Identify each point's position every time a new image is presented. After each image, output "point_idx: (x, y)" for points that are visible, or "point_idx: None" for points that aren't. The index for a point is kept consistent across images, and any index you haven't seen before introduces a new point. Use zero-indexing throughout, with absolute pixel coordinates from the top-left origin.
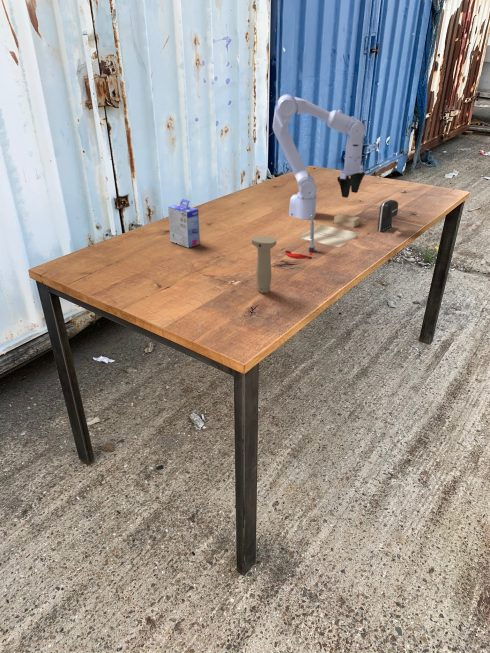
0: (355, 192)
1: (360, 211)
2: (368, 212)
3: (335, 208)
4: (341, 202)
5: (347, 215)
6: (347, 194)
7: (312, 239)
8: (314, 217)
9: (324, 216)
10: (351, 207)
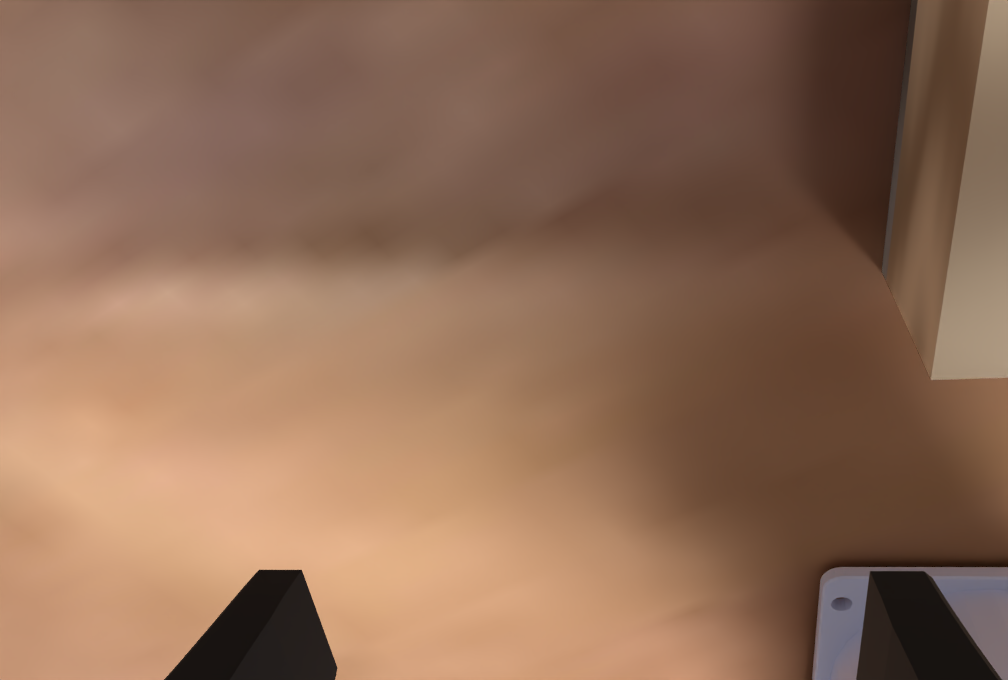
0: (306, 597)
1: (109, 305)
2: (33, 186)
3: None
4: (55, 625)
5: (995, 202)
6: (984, 655)
7: None
8: (979, 614)
9: (685, 557)
10: (88, 472)
